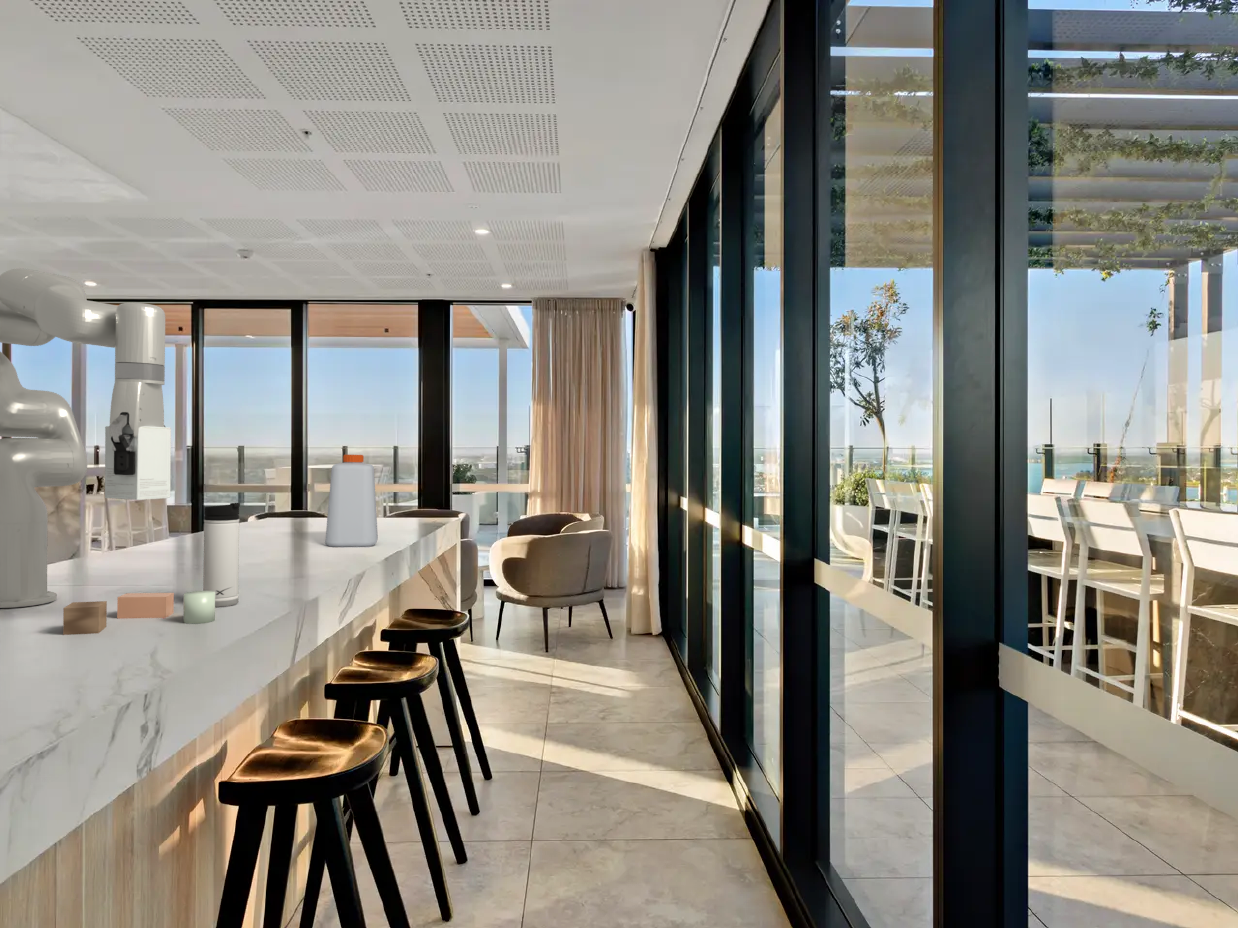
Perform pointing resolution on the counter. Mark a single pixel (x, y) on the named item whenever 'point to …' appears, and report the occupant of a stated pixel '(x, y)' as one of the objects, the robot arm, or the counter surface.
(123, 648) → the counter surface
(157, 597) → the terracotta brick
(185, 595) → the sage plastic cylinder
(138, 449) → the supplement box
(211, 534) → the travel mug
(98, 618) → the walnut block
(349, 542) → the plastic bottle
